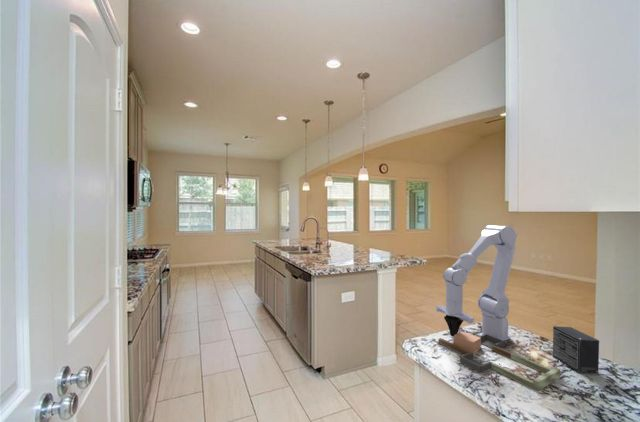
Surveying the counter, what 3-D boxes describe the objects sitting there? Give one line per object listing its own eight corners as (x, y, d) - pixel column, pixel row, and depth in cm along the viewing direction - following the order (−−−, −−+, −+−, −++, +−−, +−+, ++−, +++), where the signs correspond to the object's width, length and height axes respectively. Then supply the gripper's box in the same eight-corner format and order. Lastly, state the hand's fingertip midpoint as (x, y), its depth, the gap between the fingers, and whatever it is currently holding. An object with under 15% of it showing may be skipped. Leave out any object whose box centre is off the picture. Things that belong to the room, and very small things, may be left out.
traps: (485, 339, 110) (485, 333, 110) (523, 354, 98) (523, 348, 98) (443, 354, 98) (443, 348, 98) (480, 373, 86) (480, 366, 86)
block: (461, 341, 108) (461, 331, 108) (480, 348, 103) (481, 337, 103) (453, 346, 104) (453, 335, 104) (473, 353, 99) (473, 342, 99)
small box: (600, 374, 87) (601, 340, 87) (579, 373, 87) (579, 339, 87) (570, 356, 97) (571, 326, 97) (551, 356, 98) (552, 325, 97)
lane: (461, 335, 113) (461, 329, 113) (560, 377, 85) (560, 369, 85) (438, 342, 106) (438, 336, 106) (537, 391, 78) (537, 382, 78)
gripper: (431, 296, 113) (430, 330, 113) (465, 307, 100) (464, 346, 100) (443, 293, 116) (442, 327, 116) (477, 304, 103) (476, 341, 103)
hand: (453, 335), depth 108 cm, fingers closed
